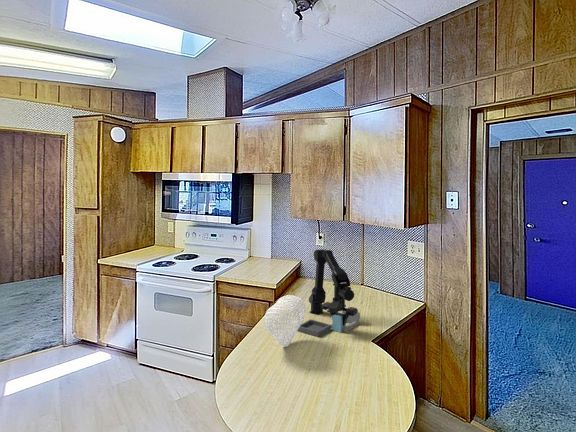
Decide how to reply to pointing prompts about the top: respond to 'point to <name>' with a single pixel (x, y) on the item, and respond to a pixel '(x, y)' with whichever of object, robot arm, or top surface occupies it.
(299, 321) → the heart
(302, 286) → the top surface
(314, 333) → the tray
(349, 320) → the dock
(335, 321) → the light blue block
